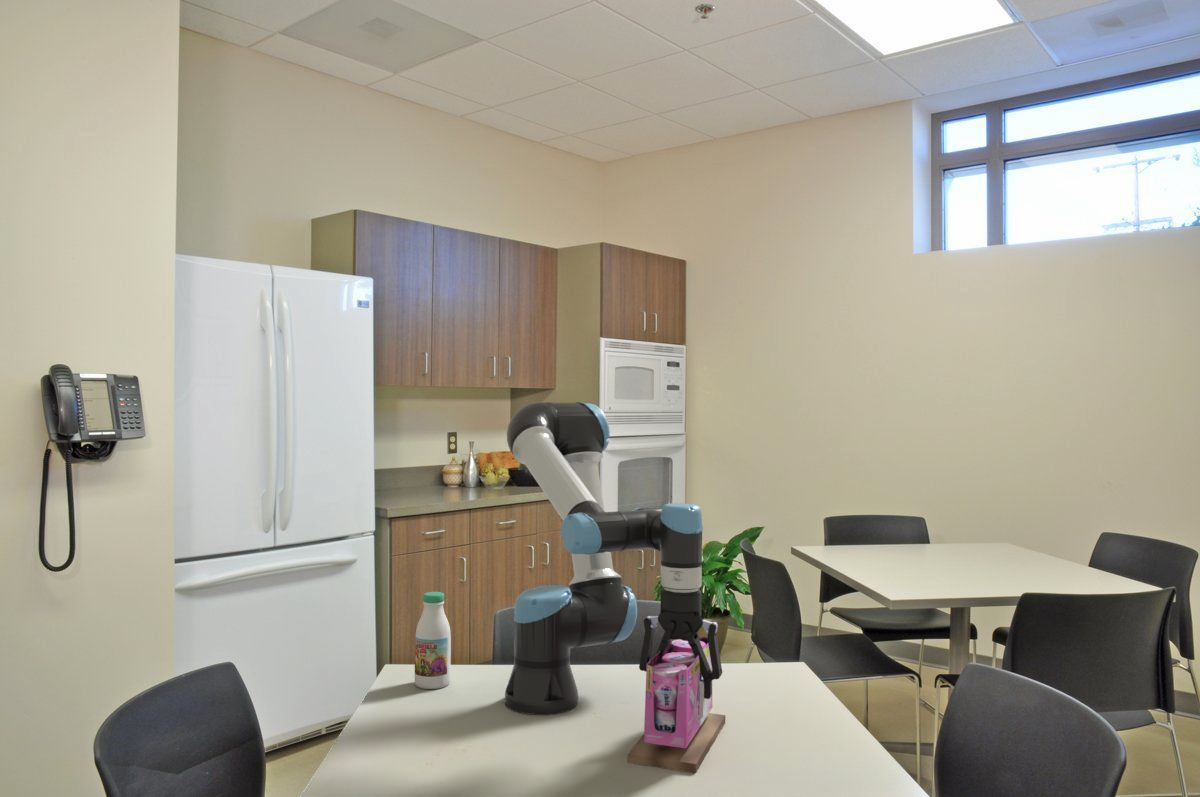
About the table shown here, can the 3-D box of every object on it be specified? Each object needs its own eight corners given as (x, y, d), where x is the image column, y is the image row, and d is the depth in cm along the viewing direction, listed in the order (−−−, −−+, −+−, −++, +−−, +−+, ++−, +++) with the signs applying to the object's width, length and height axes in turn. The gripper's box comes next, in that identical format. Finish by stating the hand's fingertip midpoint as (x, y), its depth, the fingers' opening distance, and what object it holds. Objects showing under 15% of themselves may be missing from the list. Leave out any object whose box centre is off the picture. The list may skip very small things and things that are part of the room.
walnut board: (627, 762, 148) (627, 753, 148) (665, 714, 172) (665, 707, 172) (695, 773, 144) (695, 764, 144) (725, 722, 168) (725, 715, 168)
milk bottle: (421, 678, 194) (422, 589, 194) (454, 680, 193) (455, 590, 193) (409, 689, 186) (410, 596, 186) (443, 691, 185) (445, 597, 185)
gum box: (685, 752, 145) (686, 671, 145) (640, 746, 148) (641, 667, 148) (713, 707, 168) (713, 637, 168) (673, 702, 170) (674, 633, 171)
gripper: (621, 587, 159) (620, 712, 158) (732, 596, 152) (731, 726, 151) (633, 580, 166) (632, 699, 165) (740, 588, 159) (739, 713, 158)
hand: (680, 712), depth 158 cm, fingers closed on gum box, 8 cm apart
